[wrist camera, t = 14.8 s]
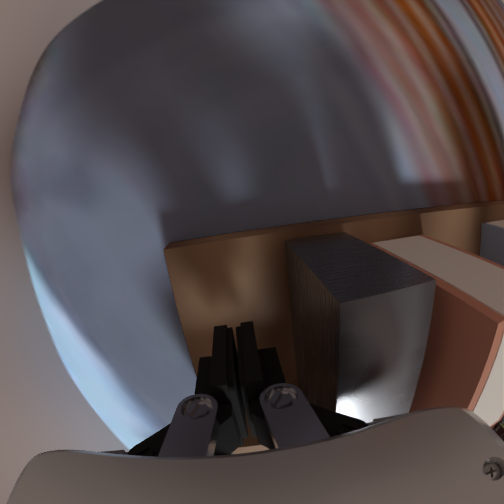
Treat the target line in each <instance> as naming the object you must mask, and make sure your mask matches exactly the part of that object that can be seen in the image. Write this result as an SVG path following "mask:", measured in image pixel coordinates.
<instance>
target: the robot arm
mask: <svg viewBox="0 0 504 504" xmlns="http://www.w3.org/2000/svg"><path fill="white" fill-rule="evenodd" d="M236 338H237V349H236V344H235V339H234V334H233V329H232V327H230V328H228V327H227V325H221V326H214V332H213V345H212V356H207V357H200V359H199V365H198V372H197V380H196V388H195V395H191V396H188V397H186V398H185V399H183V400H182V401H181V402H180V403H179V405H178V406H177V408H176V411H175V414H174V416H173V419H172V421H171V423H170V424H169V425H167V426H166V427H164V428H163V429H161V430H160V431H158V432H157V433H155V434H153V435H152V436H150V437H149V438H147V439H145V440H144V441H142V442H141V443H139V444H137V445H136V446H134V447H133V448H132V449H130V451H129V452H125V451H124V450H118V451H105V452H93V451H84V450H55V451H48V452H44V453H41V454H38V455H36V456H34V457H33V458H32V459H31V460H30V461H29V462H28V464H27V465H26V466H25V468H24V469H23V471H22V473H21V474H20V476H19V478H18V480H17V481H16V483H15V486H14V488H13V490H12V492H11V494H10V497H9V499H8V501H7V504H504V442H503V440H502V439H501V438H500V437H499V436H498V435H497V434H496V432H495V431H494V430H493V429H492V428H491V427H490V426H489V425H488V424H487V423H486V422H485V421H484V420H482V419H481V418H480V417H479V416H478V415H476V414H475V413H474V412H472V411H470V410H469V409H466V408H464V407H460V406H441V407H433V408H427V409H423V410H418V411H414V412H409V413H405V414H400V415H394V416H389V417H383V418H377V419H373V420H372V422H369V423H366V422H364V421H362V420H360V419H357V418H354V417H350V416H347V415H344V414H341V413H338V412H334V411H331V410H328V409H325V408H322V407H320V406H317V405H314V404H311V403H309V402H308V401H307V399H306V397H305V396H304V394H303V392H302V391H301V390H300V389H299V388H298V387H297V386H295V385H293V384H288V383H286V382H285V378H284V375H283V371H282V368H281V364H280V361H279V357H278V354H277V350H276V347H270V348H264V349H258V348H257V342H256V337H255V331H254V325H253V321H249V322H242V323H240V326H237V327H236ZM245 409H246V410H245ZM246 414H247V418H248V422H249V426H250V430H251V434H252V437H257V441H258V443H259V444H261V445H263V446H265V447H267V448H269V450H264V451H257V452H249V453H241V454H234V451H235V450H236V449H237V448H238V447H239V446H244V444H243V438H248V431H247V420H246Z"/></svg>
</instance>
